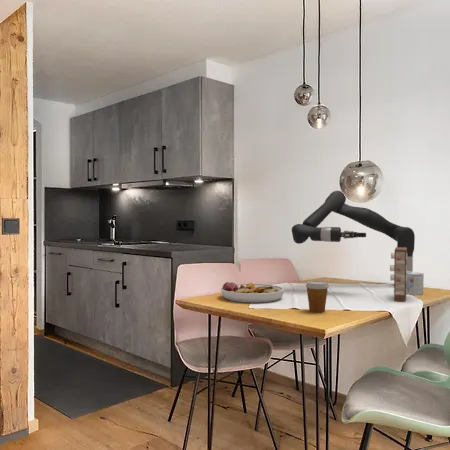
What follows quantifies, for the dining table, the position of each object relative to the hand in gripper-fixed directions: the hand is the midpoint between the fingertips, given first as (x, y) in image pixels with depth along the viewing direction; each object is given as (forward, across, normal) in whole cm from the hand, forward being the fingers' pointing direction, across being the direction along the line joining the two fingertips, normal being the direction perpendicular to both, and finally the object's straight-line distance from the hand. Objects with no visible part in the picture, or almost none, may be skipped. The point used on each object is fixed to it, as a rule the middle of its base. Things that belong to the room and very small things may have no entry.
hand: (365, 235), depth 241 cm
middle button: (+16, -9, +17) cm, 24 cm away
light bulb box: (+21, +14, +30) cm, 39 cm away
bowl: (-50, -29, +31) cm, 65 cm away
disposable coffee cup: (-15, -48, +30) cm, 59 cm away
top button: (+16, +1, +12) cm, 19 cm away
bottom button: (+16, -4, +21) cm, 27 cm away
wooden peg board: (+16, -4, +30) cm, 34 cm away
